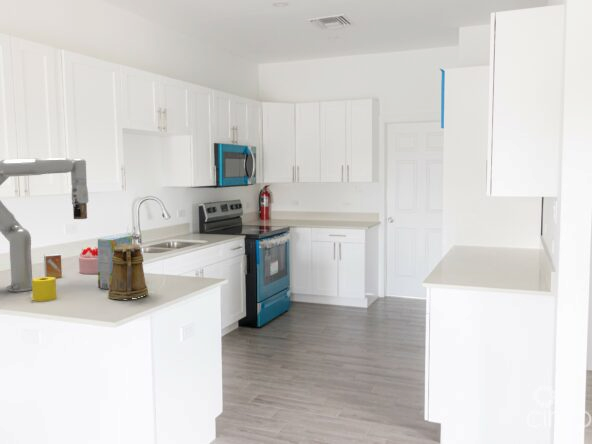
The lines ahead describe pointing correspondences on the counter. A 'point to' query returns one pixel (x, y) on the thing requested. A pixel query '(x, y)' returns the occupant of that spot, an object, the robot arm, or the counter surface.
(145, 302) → the counter surface
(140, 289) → the tankard
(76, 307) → the counter surface
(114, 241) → the snack box
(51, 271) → the small box
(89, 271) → the cake
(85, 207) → the walnut block
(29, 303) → the counter surface
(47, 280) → the tape roll
